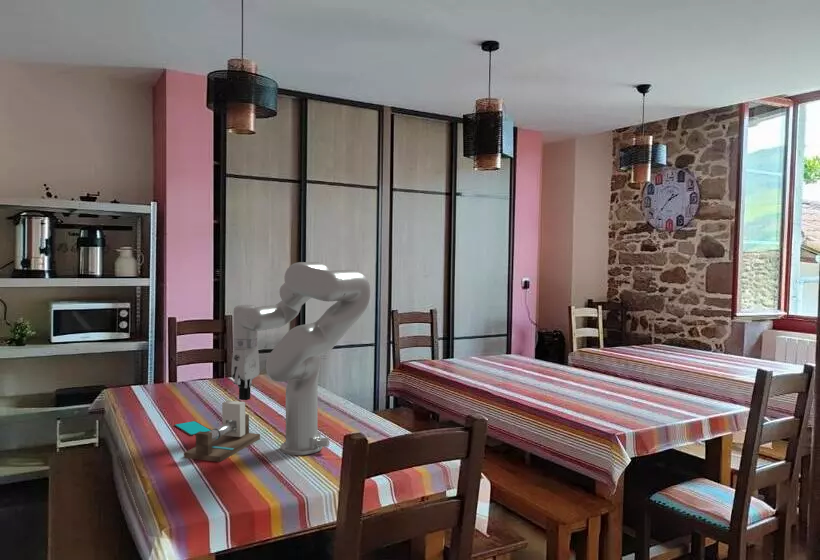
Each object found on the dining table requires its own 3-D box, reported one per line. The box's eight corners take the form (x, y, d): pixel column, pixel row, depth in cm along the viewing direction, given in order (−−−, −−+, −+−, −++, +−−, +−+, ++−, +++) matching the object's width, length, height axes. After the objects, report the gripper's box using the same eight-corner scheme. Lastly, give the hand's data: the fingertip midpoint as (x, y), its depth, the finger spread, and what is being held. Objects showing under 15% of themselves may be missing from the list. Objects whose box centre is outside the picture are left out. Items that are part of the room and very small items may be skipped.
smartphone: (190, 434, 191) (173, 424, 202) (190, 437, 191) (173, 427, 202) (212, 430, 196) (195, 420, 207) (212, 433, 196) (195, 423, 207)
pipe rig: (260, 438, 189) (260, 415, 188) (220, 461, 168) (220, 435, 167) (227, 435, 192) (226, 412, 192) (183, 457, 171) (183, 432, 170)
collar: (245, 434, 186) (245, 402, 185) (240, 437, 183) (239, 404, 182) (227, 432, 187) (227, 400, 187) (222, 435, 184) (222, 402, 184)
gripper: (243, 347, 182) (242, 406, 183) (267, 340, 197) (266, 395, 198) (221, 346, 184) (221, 403, 185) (247, 339, 199) (246, 392, 200)
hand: (244, 399), depth 192 cm, fingers closed
